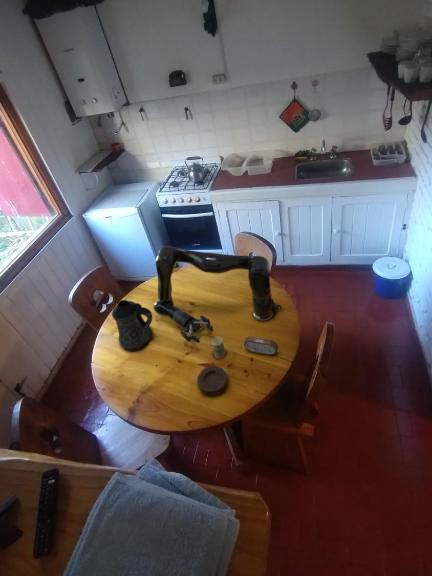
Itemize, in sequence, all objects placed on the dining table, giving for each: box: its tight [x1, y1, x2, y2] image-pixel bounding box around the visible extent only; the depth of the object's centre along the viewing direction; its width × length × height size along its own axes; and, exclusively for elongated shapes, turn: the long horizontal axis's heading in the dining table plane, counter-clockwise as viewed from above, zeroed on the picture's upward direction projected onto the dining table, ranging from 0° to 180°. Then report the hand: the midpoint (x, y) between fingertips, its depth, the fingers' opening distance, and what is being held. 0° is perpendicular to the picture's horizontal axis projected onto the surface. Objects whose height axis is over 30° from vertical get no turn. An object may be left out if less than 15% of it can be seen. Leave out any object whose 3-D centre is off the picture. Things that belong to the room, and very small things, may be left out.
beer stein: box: [111, 299, 153, 352], centre depth 166 cm, size 16×19×25 cm
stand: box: [197, 365, 229, 397], centre depth 145 cm, size 12×12×4 cm
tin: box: [243, 336, 279, 356], centre depth 153 cm, size 15×3×8 cm, turn 71°
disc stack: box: [210, 335, 227, 359], centre depth 155 cm, size 5×5×9 cm
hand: (206, 335), depth 158 cm, fingers open, 8 cm apart
